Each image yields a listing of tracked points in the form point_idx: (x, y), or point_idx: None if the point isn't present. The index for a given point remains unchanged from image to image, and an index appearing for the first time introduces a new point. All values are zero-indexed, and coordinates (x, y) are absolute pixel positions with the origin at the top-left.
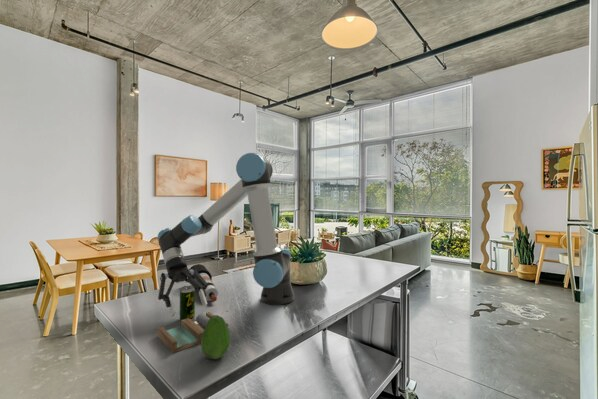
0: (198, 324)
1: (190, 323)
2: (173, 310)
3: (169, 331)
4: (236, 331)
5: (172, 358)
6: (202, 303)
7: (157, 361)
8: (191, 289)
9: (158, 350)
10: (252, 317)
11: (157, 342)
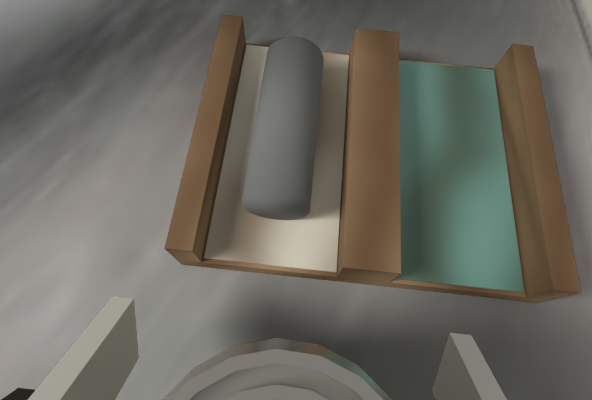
0: None
1: (375, 170)
2: (477, 353)
3: (481, 258)
4: (192, 36)
5: None
6: (118, 384)
7: (571, 73)
8: (253, 361)
9: (556, 146)
10: (2, 88)
11: None
